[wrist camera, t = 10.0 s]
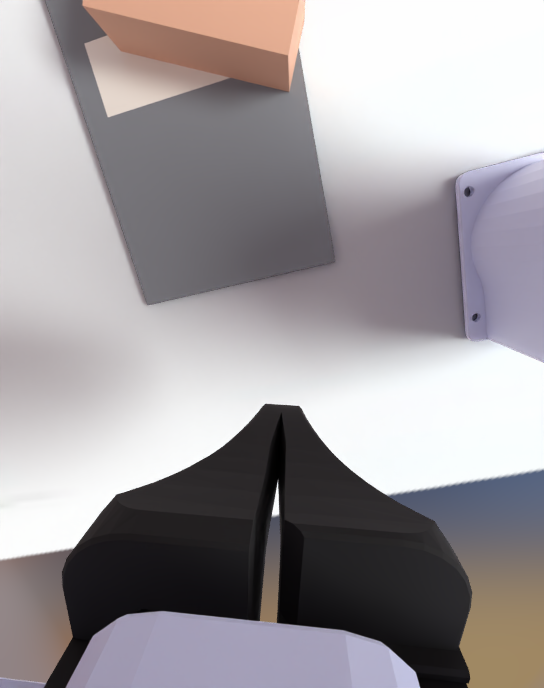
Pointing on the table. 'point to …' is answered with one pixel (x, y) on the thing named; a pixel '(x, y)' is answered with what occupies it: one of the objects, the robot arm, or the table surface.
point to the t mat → (198, 165)
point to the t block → (209, 34)
